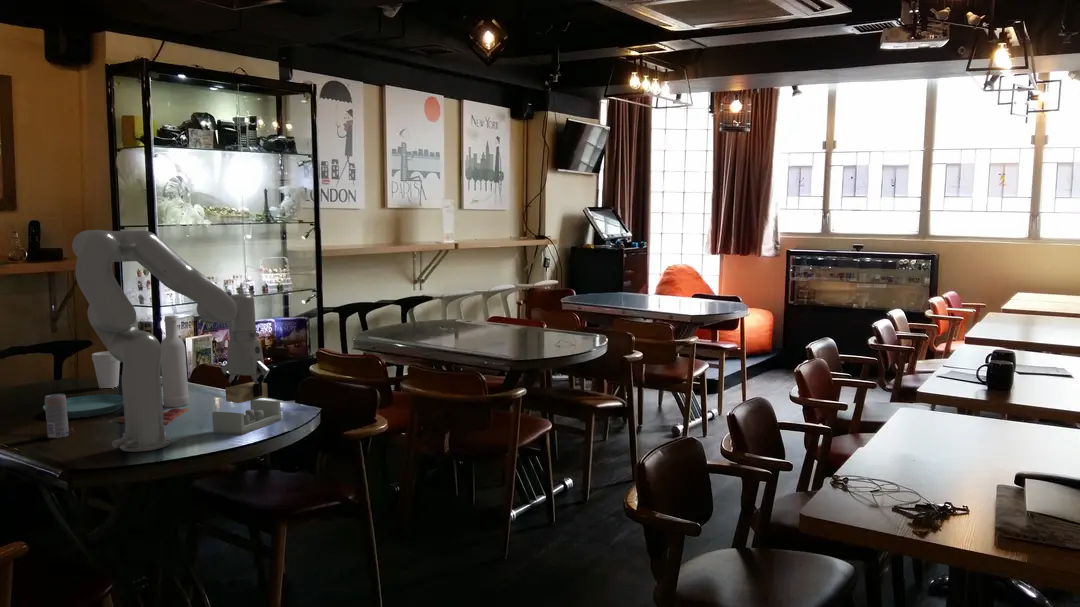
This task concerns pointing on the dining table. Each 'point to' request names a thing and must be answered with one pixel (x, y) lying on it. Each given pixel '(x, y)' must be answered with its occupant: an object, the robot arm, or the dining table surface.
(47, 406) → the energy drink
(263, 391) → the oak plank
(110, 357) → the foam cup
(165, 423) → the billiard ball rack
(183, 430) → the dining table surface
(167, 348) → the bottle
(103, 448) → the dining table surface
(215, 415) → the peg frame
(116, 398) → the saucer
